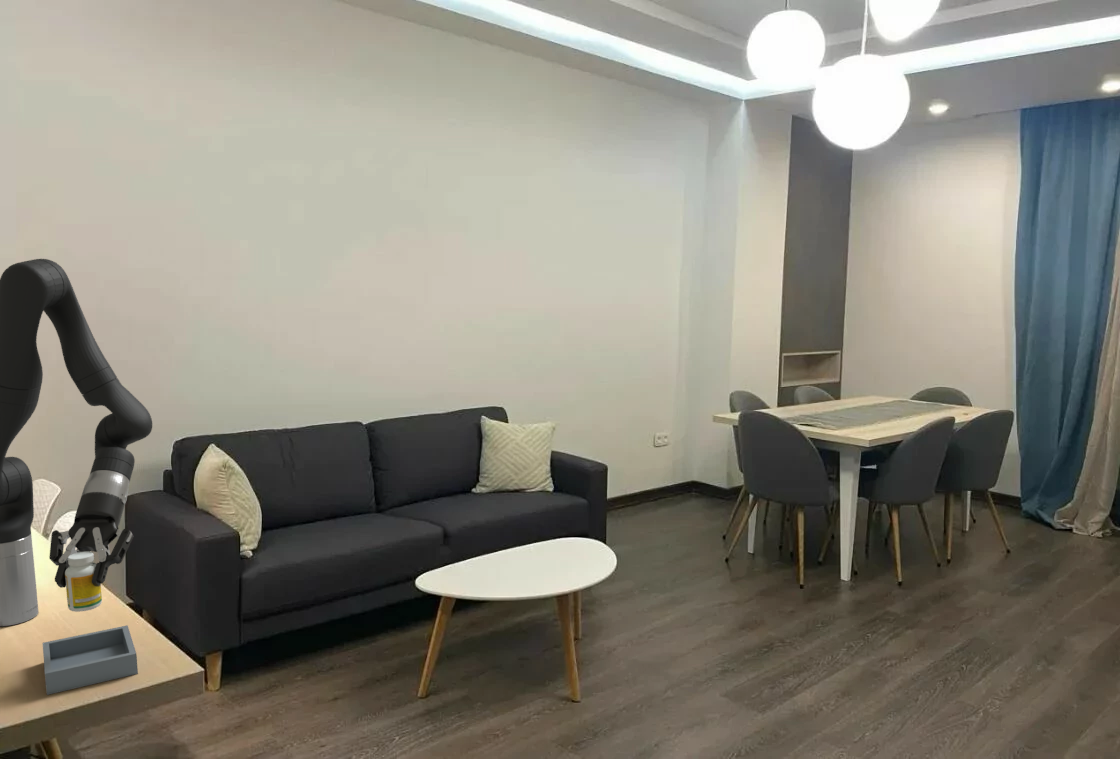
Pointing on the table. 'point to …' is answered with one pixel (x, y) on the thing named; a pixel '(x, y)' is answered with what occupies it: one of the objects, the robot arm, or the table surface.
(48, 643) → the tray
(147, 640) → the table surface
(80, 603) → the supplement bottle
